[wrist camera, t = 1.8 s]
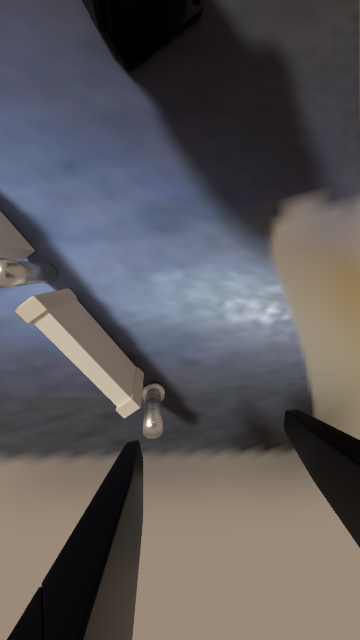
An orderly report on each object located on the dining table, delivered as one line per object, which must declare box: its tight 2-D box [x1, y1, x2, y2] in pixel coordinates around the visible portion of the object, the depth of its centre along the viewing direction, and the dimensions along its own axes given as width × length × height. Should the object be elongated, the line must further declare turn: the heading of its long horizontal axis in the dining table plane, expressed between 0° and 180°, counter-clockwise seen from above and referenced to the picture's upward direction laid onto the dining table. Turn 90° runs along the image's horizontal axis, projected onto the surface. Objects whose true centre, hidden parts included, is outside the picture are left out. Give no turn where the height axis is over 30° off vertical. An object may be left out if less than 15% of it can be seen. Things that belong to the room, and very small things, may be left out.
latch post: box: [142, 382, 165, 439], centre depth 18 cm, size 2×2×5 cm
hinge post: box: [0, 260, 57, 287], centre depth 13 cm, size 2×2×5 cm
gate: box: [15, 289, 144, 418], centre depth 15 cm, size 10×2×5 cm, turn 34°
